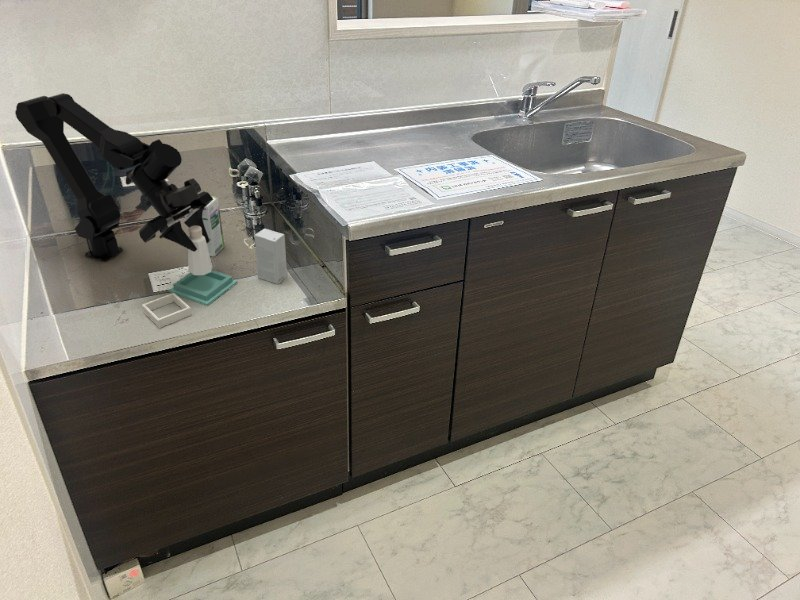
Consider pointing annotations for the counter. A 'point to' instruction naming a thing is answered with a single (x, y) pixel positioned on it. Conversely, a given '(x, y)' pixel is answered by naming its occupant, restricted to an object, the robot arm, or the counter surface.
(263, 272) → the skincare box
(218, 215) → the syrup box
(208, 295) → the teal square tray
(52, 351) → the counter surface
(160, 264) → the counter surface
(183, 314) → the white square tray
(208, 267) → the pepper shaker
